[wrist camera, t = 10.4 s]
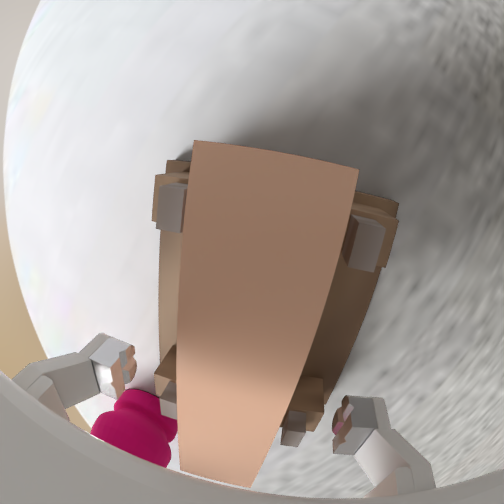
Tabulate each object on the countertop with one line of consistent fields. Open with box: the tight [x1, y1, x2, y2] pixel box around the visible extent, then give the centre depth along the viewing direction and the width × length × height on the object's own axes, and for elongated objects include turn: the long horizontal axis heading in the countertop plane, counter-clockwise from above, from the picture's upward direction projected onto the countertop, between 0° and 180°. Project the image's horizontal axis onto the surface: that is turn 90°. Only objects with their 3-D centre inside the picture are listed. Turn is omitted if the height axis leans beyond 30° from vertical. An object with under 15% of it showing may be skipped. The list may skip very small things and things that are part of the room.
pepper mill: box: [90, 389, 178, 468], centre depth 13 cm, size 7×7×20 cm
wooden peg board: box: [152, 160, 399, 447], centre depth 14 cm, size 12×14×6 cm
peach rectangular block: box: [176, 140, 359, 488], centre depth 11 cm, size 4×16×4 cm, turn 170°
